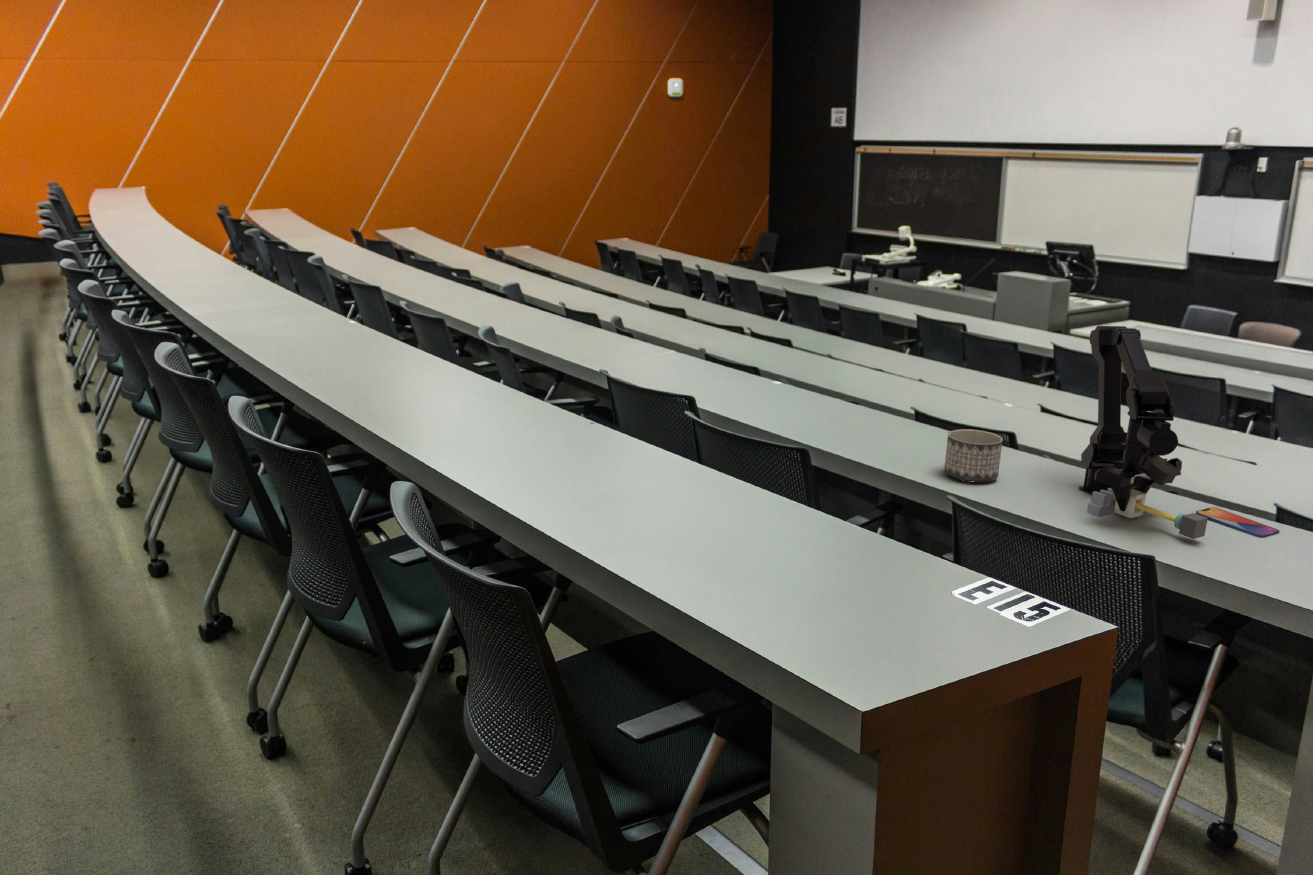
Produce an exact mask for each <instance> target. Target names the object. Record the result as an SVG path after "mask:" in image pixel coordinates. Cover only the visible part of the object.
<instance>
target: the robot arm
mask: <svg viewBox="0 0 1313 875" xmlns="http://www.w3.org/2000/svg"><path fill="white" fill-rule="evenodd" d="M1089 344H1090V345H1091V346H1090V348H1091V349H1090V350H1091V355H1092V356H1093V357H1094V359H1095V361H1096V362H1097V364H1098V393H1097V394H1098V395H1097V396H1098V398H1097V399H1098V401H1097V402H1098V404H1097V408H1098V409H1097V426H1096V428H1095V429H1094V431H1093V432H1092V434H1090V437H1089V443H1088V445H1086V447H1085V448H1084V450H1083V451H1082V453H1081V454H1080V456H1081V457H1080V463H1081V464H1082V465H1083V466H1084V467H1085V473H1084V479H1083V480H1084V481H1083V485H1080V486H1078V489H1079V490H1082V491H1083V492H1087V493H1089V494H1092V495H1093V492H1094V491H1096V492H1099V493H1100V490H1105V491H1107V489H1108V488H1111V489H1112V490H1113V493H1114V495H1115V498H1116V501H1117V504H1118V506H1119V509H1120V510H1121V511H1123V512H1124V511H1125V510H1126V507H1127V504H1128V501H1129V497H1130V493H1131V490H1133V489H1134V490H1137V491H1140V492H1143V493H1145V494H1146V495H1147V493H1148V492H1149V490H1150V489H1151V488H1152V487H1153V486H1155V485H1158V486H1165V485H1166V484H1173V482H1174V480H1175V478H1176V477H1178V476H1181V475H1182V472H1181V471H1182V467H1183V461H1182V460H1181V459H1180V458H1178V457H1173V458H1170V459H1169V460H1168V458H1162V457H1163V456H1167V455H1171V454H1172V453H1173V452H1174V451H1175V450H1176V449H1177V447H1178V445H1179V439H1178V435H1177V434H1176V432H1175V431H1174V430H1172V429H1171V427H1172V424H1171V422H1173V421H1174V420H1175V419H1174V415H1175V409H1174V404H1173V400H1172V397H1171V396H1172V395H1171V392H1170V391H1169V389H1168V386H1167V385H1166V383H1165V381H1164V379H1162V378H1161V377H1159V376H1158V375H1156V374H1154V371H1153V370H1152V368H1151V365H1150V364H1151V363H1150V362H1149V359H1148V357H1147V354H1146V352H1145V348H1144V346H1143V344H1142V340H1141V330H1140V329H1137V328H1134V327H1133V328H1132V327H1127V326H1125V325H1097V326H1096V327H1095V329H1092V330H1091V331H1090V333H1089ZM1122 366H1123V369H1124V371H1125V375H1126V378H1127V380H1128V384H1129V385H1128V387H1127V388H1126V391H1125V395H1126V396H1125V400H1126V404H1127V407H1128V411H1127V415H1128V416H1129V419H1128V425H1127V431H1126V432H1125V430H1124V428H1123V427H1122V425H1121V424H1122V423H1121V416H1122V414H1121V413H1122V412H1121V410H1122V408H1121V407H1122ZM1161 456H1162V457H1161Z"/></svg>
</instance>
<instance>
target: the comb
mask: <svg viewBox="0 0 1313 875" xmlns="http://www.w3.org/2000/svg"><path fill="white" fill-rule="evenodd" d="M1113 499H1114V493H1113V490H1112V489H1111V488H1108V489H1107V491H1105V490H1100V493H1099V492H1096V491H1094V492H1093V494H1092V495H1091V500H1090V501H1091V502H1088V503H1087V509H1086V513H1089V514H1092V515H1094V516H1096V517H1101V516H1104V515H1109V514H1113V513H1115V512H1114V511H1115V505H1116V501H1115V500H1113Z"/></svg>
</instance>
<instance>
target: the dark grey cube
mask: <svg viewBox="0 0 1313 875" xmlns="http://www.w3.org/2000/svg"><path fill="white" fill-rule="evenodd" d="M1208 521H1209V520H1208V518H1206V517H1204V516H1201V515H1198V514H1196V512H1195V513H1194V512H1191V513H1188V514H1184V515H1183V516H1182V519H1181V521H1180V529H1178V534H1179V535H1181V536H1184V537H1186V538H1189V539H1192V540H1194V539H1199V538H1203V537H1205V535H1206V530H1207V526H1208V524H1207V523H1208Z"/></svg>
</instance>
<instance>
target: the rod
mask: <svg viewBox="0 0 1313 875" xmlns="http://www.w3.org/2000/svg"><path fill="white" fill-rule="evenodd" d="M1113 500H1115V501H1116V498H1115V495H1114V499H1113ZM1135 508H1137V509H1140V510H1143V512H1145V513H1148V514H1152V515H1154V516H1157V517H1160V518H1162V519H1164V520H1168V521H1170V522H1173V523H1174V521H1175V519H1176V517H1177V515H1176V516H1175V515H1172V514H1170V513H1168V512H1164V511H1162V510H1159V509H1156V508H1153V507H1150V506H1148V505H1145V504H1144V505H1142V504H1140V503H1137V502H1136V503H1135Z"/></svg>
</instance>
